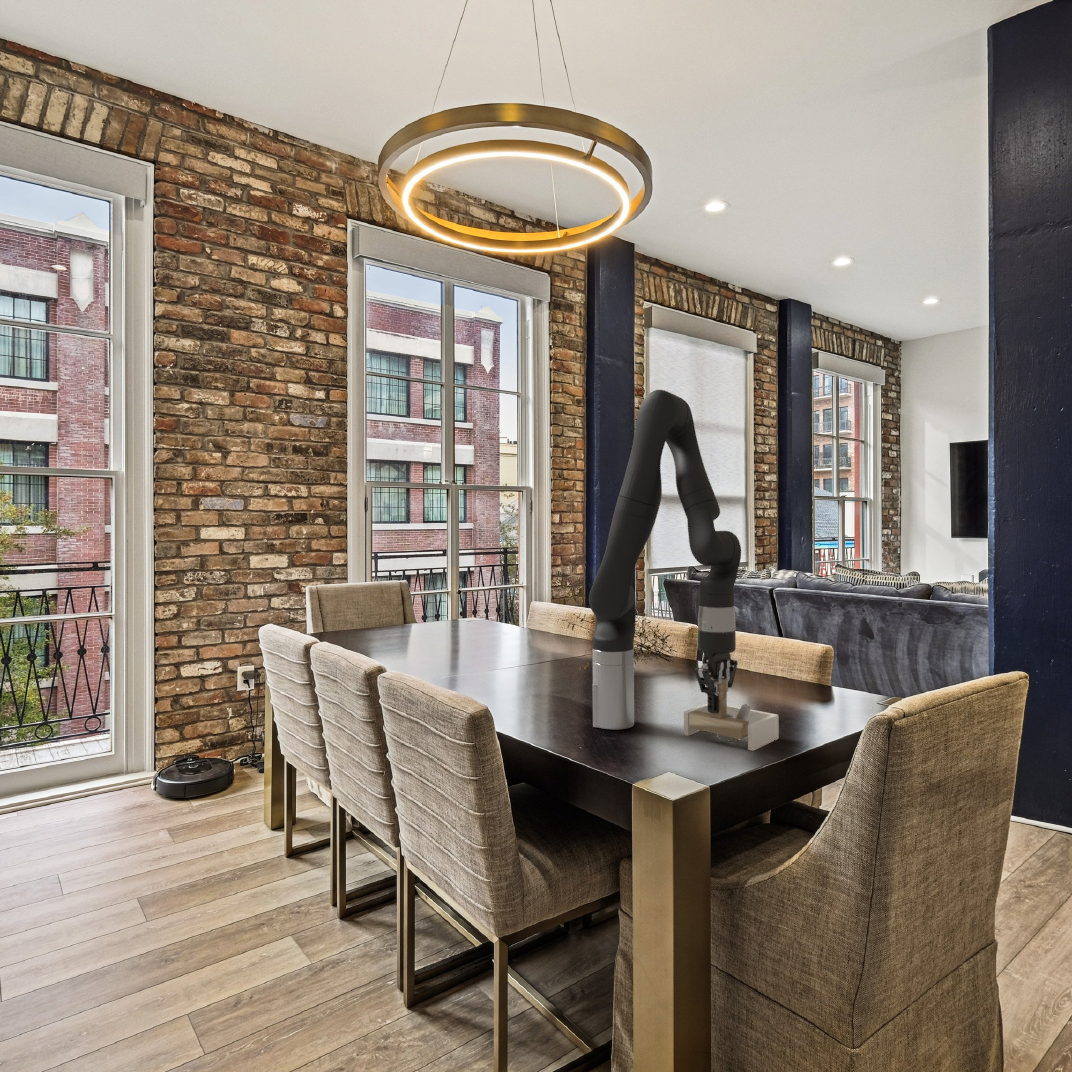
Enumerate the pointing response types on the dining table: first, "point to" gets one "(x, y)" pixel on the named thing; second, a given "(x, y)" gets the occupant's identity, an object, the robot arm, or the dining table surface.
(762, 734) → the box
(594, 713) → the robot arm
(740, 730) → the wooden t-shaped post
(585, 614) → the dried plant
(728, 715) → the lighter
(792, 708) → the dining table surface
